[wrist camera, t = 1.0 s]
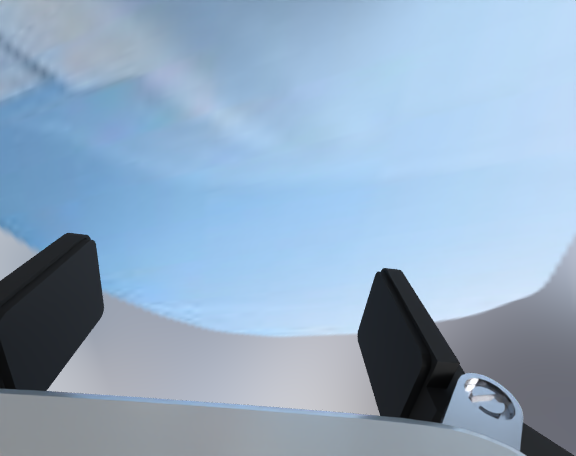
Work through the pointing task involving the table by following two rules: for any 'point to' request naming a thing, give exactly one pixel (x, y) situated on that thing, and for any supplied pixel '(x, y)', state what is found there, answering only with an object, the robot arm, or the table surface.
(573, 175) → the table surface
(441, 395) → the robot arm
